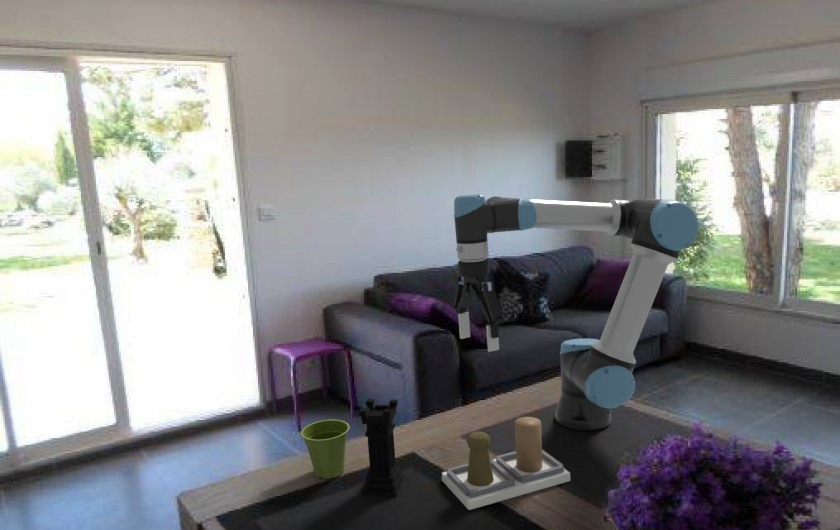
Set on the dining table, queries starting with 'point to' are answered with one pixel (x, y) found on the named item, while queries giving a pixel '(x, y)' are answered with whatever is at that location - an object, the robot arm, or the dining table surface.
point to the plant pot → (326, 446)
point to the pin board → (511, 470)
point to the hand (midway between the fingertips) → (478, 343)
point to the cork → (479, 460)
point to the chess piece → (381, 449)
